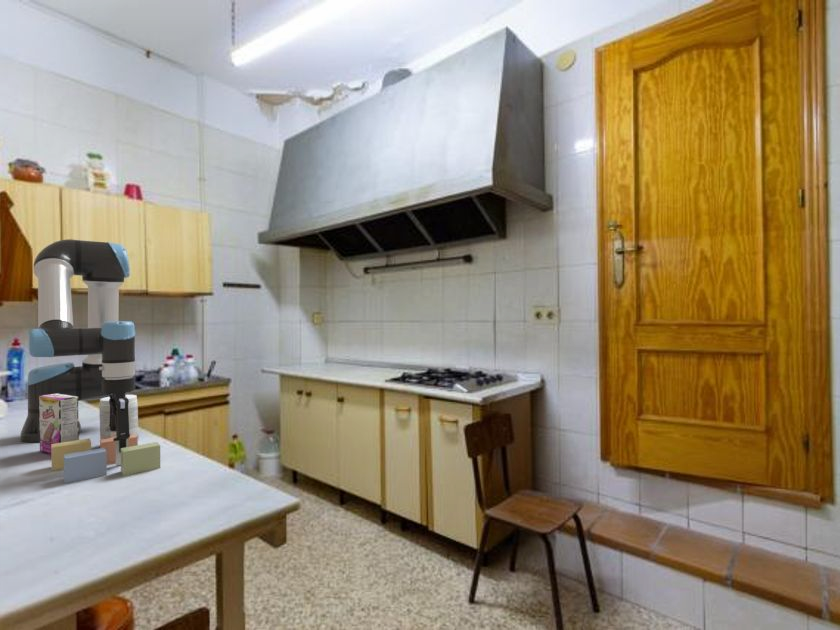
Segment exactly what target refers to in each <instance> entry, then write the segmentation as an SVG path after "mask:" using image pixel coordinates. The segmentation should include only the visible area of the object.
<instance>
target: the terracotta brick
mask: <svg viewBox="0 0 840 630" xmlns="http://www.w3.org/2000/svg"><path fill="white" fill-rule="evenodd" d="M114 438H116V437H113V438H107V439H101V440H99V447H100V448H105V450H106V461H107V465H109V463H111V464H115V463H114V462H116V441H113V439H114ZM138 438H139V437H137V436H136V435H135V434H132V435H130V437H129V438H128V447H131V446H137V445H139V444H138V442H139V440H138Z"/></svg>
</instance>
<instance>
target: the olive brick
mask: <svg viewBox="0 0 840 630" xmlns="http://www.w3.org/2000/svg"><path fill="white" fill-rule="evenodd" d="M157 468H159V469H161V444H160V443H159V442H157V441H154V442H150V443H149V442H148V443H143V444H138V445H137V446H131V447H125V448H121V464H120V472H122V473H121V474H122V476H123V477H124V475H125V476H129V475H128V474H130V475H133V474H132V473H135V474H139V473H138V472H140V473H143V471H144V472H149V471H153V470H152V469H154V470H158V469H157ZM148 470H149V471H148Z"/></svg>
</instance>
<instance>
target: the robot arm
mask: <svg viewBox="0 0 840 630" xmlns="http://www.w3.org/2000/svg"><path fill="white" fill-rule="evenodd" d="M128 256H129V255H128V252H127V250H126V248H125V246H124V245H122V244H120V243H115V242H114V243H113V242H109V241H108V242H106V241H92V240H80V239H71V238H70V239H60V240H58V241H54V242H53V243H51V244H48V245H46V246H45V247H44V248H43V249H42V250H41V251H39V253H38V254H37V256H36V257H35V259H34V261H33V273H34V276H35V277H36V278H37V297H38V299H37V303H38V304H37V307H38V308H37V309H38V310H37V311H38V312H37V314H38V321H37V323H38V324H37V326H38V327H37V328H34V329H31V330H29V332H28V334H29V335H28V352H29V353H28V354H29V355H30V356H31V357H33V358H54V357H70V356H71V357H73V356H86V357H85V358H84V359H82V361H81V362H82V363H81V366H75V364H74V362H64V363H63V362H62V363H55V364H50V365H43V366H38V367H35V368H32V369H31V370H30V371H29V372H28V374H27V383H26V386H27V416H26V419H25V422H24V424H23V426H22V429H21V431H20V441H21V442H24V443H25V442H26V443H37V442H38V443H40V421H39V396H42V395H49V394H57V393H58V394H64V395H71V396H77V397H78V402H80V401H89V400H90V401H91V400H100V399H102V398H105V397H110V399H109V404H110V424H109V427H110V430H111V431H112V432H110V438H113V437H116V438H114V439H113V441H116V463H115V466H119V465H120V466H121V448H125V447H128V438H129V437H130V434H129V414H128V403H129V400H128V399H127V397H126V396H125V395H126V394H127V393H131V392H134V391H135V389H136V378H135V377H134V376H135V375H136V357H135V355H136V354H135V353H136V350H135V347H136V344H135V343H136V341H135V339H136V330H135V329H136V328H135V324H134V322H133V321H129V320H128V321H127V320H126V321H125V320H124V321H121V320H119V316H120V315H119V314H120V313H119V312H120V311H119V309H120V308H119V306H120V305H119V304H120V303H119V301H120V297H119V295H120V294H119V293H120V287H121V286H122V285H123V284H124V283H125V279H127V278H129V277H130V275H131V274H130V270H131V269H130V262H129V261H130V260H129V257H128ZM73 276H81V277H82V278H81V279H82V280H81V281H82V283H84V284H85V285H86V286H87V327H86V328H85V327H84V328H83V327H82V328H81V327H79V328H74V316H73V315H74V314H73V302H72V301H73V300H72V289H71V288H72V287H71V284H72V283H71V279H72V277H73ZM79 420H80V419H78V422H79V423H78V425H79V434H80V433H82V425H81V423H80V421H79ZM123 433H125V434H123Z"/></svg>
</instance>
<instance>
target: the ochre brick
mask: <svg viewBox="0 0 840 630" xmlns="http://www.w3.org/2000/svg"><path fill="white" fill-rule="evenodd" d="M87 450H92V440H91V439H90V437H89V438H83V439H79V440H76V441H69V442H63V443H56V444H51V454H50V457H51V458H50V460H51V462H50V463H51V464H50V465H51V466H52V467H51V466H50V467H51V471H52V470H54V471H57V470H56V469H60V470H63V469H62V468H64V454H70V453H76V452H82V451H87Z"/></svg>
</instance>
